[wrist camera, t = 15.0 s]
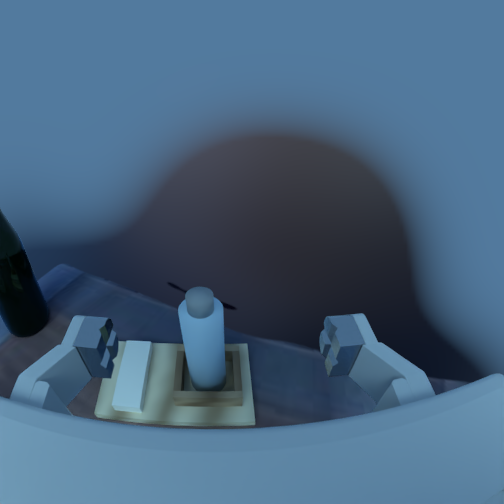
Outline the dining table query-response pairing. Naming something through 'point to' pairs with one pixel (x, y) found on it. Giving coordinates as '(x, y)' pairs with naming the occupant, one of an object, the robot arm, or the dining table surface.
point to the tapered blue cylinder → (203, 339)
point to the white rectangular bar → (133, 377)
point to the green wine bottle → (19, 286)
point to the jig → (185, 391)
